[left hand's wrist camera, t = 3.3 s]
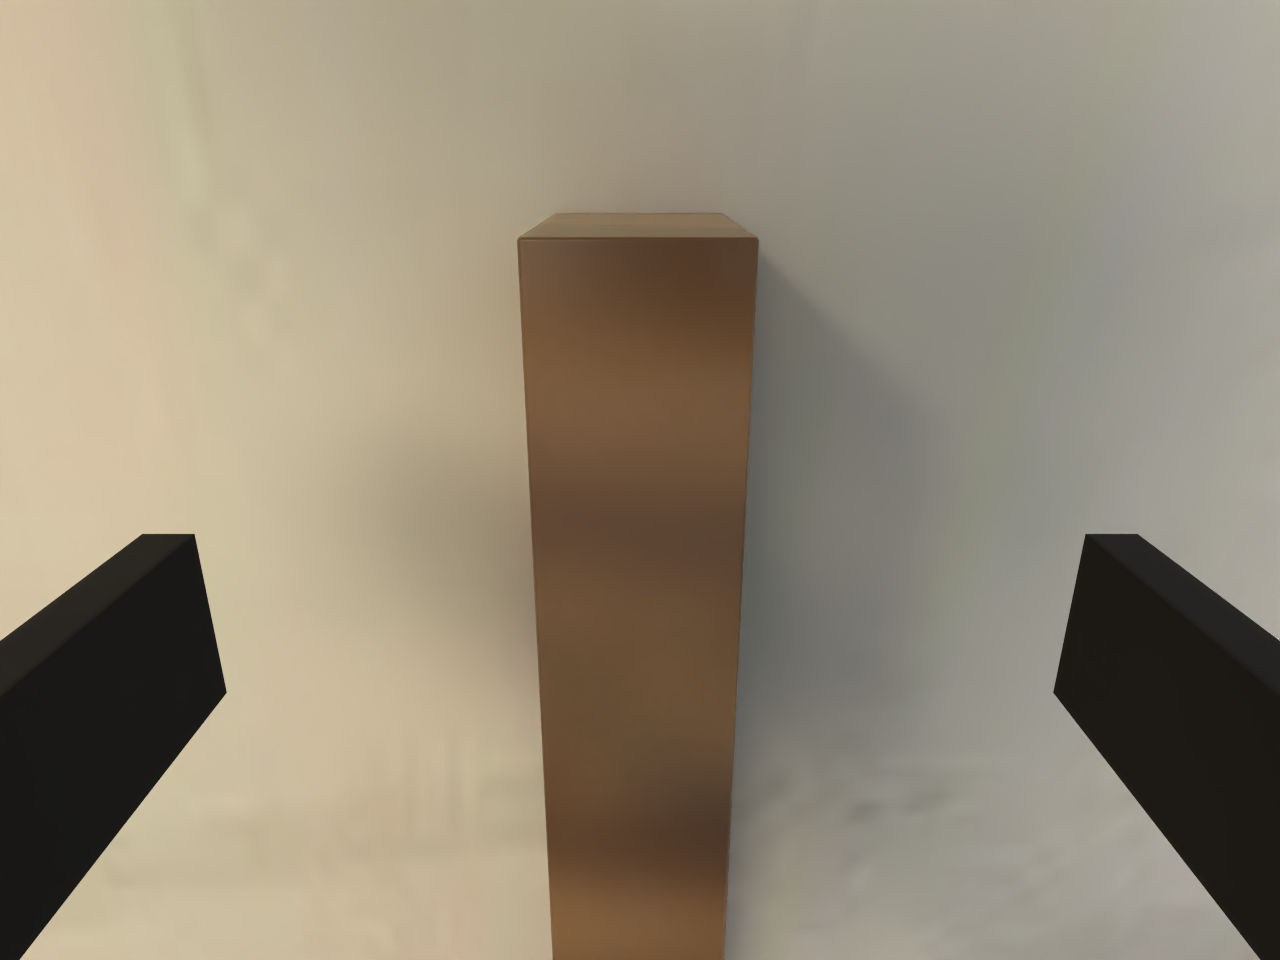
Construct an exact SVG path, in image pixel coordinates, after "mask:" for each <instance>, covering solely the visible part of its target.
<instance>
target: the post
mask: <svg viewBox="0 0 1280 960" xmlns="http://www.w3.org/2000/svg"><path fill="white" fill-rule="evenodd" d="M517 246H518V266H519V286H520V307H521V327H522V347H523V367H524V387H525V407H526V428H527V448H528V468H529V488H530V508H531V529H532V549H533V569H534V589H535V609H536V630H537V650H538V670H539V690H540V710H541V731H542V751H543V771H544V791H545V811H546V832H547V852H548V872H549V892H550V912H551V933H552V953H553V960H724V949H725V928H726V907H727V887H728V866H729V845H730V825H731V804H732V783H733V763H734V742H735V721H736V701H737V680H738V659H739V639H740V618H741V598H742V577H743V556H744V536H745V515H746V494H747V474H748V453H749V432H750V412H751V391H752V370H753V350H754V329H755V308H756V288H757V267H758V246H759V240H758V238H757V237H756V236H754V235H753V234H751V233H750V232H748V231H747V230H746V229H744V228H743V227H741V226H740V225H738V224H737V223H735V222H734V221H733V220H731V219H730V218H728V217H727V216H725V215H724V214H722V213H556V214H554V215H552V216H551V217H549V218H548V219H546V220H545V221H543V222H542V223H540V224H539V225H537V226H536V227H534V228H533V229H531V230H530V231H528V232H526V233H525V234H523V235H522V236H520V237H519V238H518V240H517Z"/></svg>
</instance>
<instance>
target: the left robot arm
mask: <svg viewBox="0 0 1280 960" xmlns="http://www.w3.org/2000/svg"><path fill="white" fill-rule="evenodd" d="M226 693H227V692H226V687H225V682H224V677H223V672H222V667H221V662H220V657H219V652H218V648H217V643H216V638H215V633H214V628H213V623H212V618H211V613H210V608H209V603H208V598H207V593H206V589H205V584H204V579H203V574H202V569H201V564H200V559H199V554H198V549H197V544H196V539H195V534H142V535H141V536H139V537H138V538H137V539H135V540H134V541H133V542H131V543H130V544H129V545H127V546H126V547H125V548H123V549H122V550H121V551H119V552H118V553H117V554H115V555H114V556H113V557H111V558H110V559H109V560H107V561H106V562H105V563H103V564H102V565H101V566H99V567H98V568H97V569H95V570H94V571H93V572H91V573H90V574H89V575H87V576H86V577H85V578H83V579H82V580H81V581H79V582H78V583H77V584H75V585H74V586H73V587H71V588H70V589H69V590H67V591H66V592H65V593H63V594H62V595H61V596H59V597H58V598H57V599H55V600H54V601H53V602H51V603H50V604H49V605H47V606H46V607H45V608H43V609H42V610H41V611H40V612H38V613H37V614H36V615H34V616H33V617H32V618H30V619H29V620H28V621H26V622H25V623H24V624H22V625H21V626H20V627H18V628H17V629H16V630H14V631H13V632H12V633H10V634H9V635H8V636H6V637H5V638H4V639H2V640H1V641H0V960H20V958H21V957H22V956H23V954H24V953H25V952H26V951H27V949H28V948H29V947H30V945H31V944H32V943H33V942H34V940H35V939H36V938H37V936H38V935H39V934H40V933H41V931H42V930H43V929H44V927H45V926H46V925H47V924H48V922H49V921H50V920H51V918H52V917H53V916H54V915H55V913H56V912H57V911H58V909H59V908H60V907H61V906H62V904H63V903H64V902H65V900H66V899H67V898H68V896H69V895H70V894H71V893H72V891H73V890H74V889H75V887H76V886H77V885H78V884H79V882H80V881H81V880H82V878H83V877H84V876H85V875H86V873H87V872H88V871H89V869H90V868H91V867H92V866H93V864H94V863H95V862H96V860H97V859H98V858H99V857H100V855H101V854H102V853H103V851H104V850H105V849H106V848H107V846H108V845H109V844H110V842H111V841H112V840H113V838H114V837H115V836H116V835H117V833H118V832H119V831H120V829H121V828H122V827H123V826H124V824H125V823H126V822H127V820H128V819H129V818H130V817H131V815H132V814H133V813H134V811H135V810H136V809H137V808H138V806H139V805H140V804H141V802H142V801H143V800H144V799H145V797H146V796H147V795H148V793H149V792H150V791H151V790H152V788H153V787H154V786H155V784H156V783H157V782H158V780H159V779H160V778H161V777H162V775H163V774H164V773H165V771H166V770H167V769H168V768H169V766H170V765H171V764H172V762H173V761H174V760H175V759H176V757H177V756H178V755H179V753H180V752H181V751H182V750H183V748H184V747H185V746H186V744H187V743H188V742H189V741H190V739H191V738H192V737H193V735H194V734H195V733H196V732H197V730H198V729H199V728H200V726H201V725H202V724H203V722H204V721H205V720H206V719H207V717H208V716H209V715H210V713H211V712H212V711H213V710H214V708H215V707H216V706H217V704H218V703H219V702H220V701H221V699H222V698H223V697H224V695H225V694H226ZM1053 693H1054V694H1055V695H1056V697H1057V698H1058V699H1059V701H1060V702H1061V703H1062V704H1063V706H1064V707H1065V708H1066V710H1067V711H1068V712H1069V713H1070V715H1071V716H1072V717H1073V719H1074V720H1075V721H1076V722H1077V724H1078V725H1079V726H1080V728H1081V729H1082V730H1083V732H1084V733H1085V734H1086V735H1087V737H1088V738H1089V739H1090V741H1091V742H1092V743H1093V744H1094V746H1095V747H1096V748H1097V750H1098V751H1099V752H1100V753H1101V755H1102V756H1103V757H1104V759H1105V760H1106V761H1107V762H1108V764H1109V765H1110V766H1111V768H1112V769H1113V770H1114V771H1115V773H1116V774H1117V775H1118V777H1119V778H1120V779H1121V780H1122V782H1123V783H1124V784H1125V786H1126V787H1127V788H1128V790H1129V791H1130V792H1131V793H1132V795H1133V796H1134V797H1135V799H1136V800H1137V801H1138V802H1139V804H1140V805H1141V806H1142V808H1143V809H1144V810H1145V811H1146V813H1147V814H1148V815H1149V817H1150V818H1151V819H1152V820H1153V822H1154V823H1155V824H1156V826H1157V827H1158V828H1159V829H1160V831H1161V832H1162V833H1163V835H1164V836H1165V837H1166V838H1167V840H1168V841H1169V842H1170V844H1171V845H1172V846H1173V848H1174V849H1175V850H1176V851H1177V853H1178V854H1179V855H1180V857H1181V858H1182V859H1183V860H1184V862H1185V863H1186V864H1187V866H1188V867H1189V868H1190V869H1191V871H1192V872H1193V873H1194V875H1195V876H1196V877H1197V878H1198V880H1199V881H1200V882H1201V884H1202V885H1203V886H1204V887H1205V889H1206V890H1207V891H1208V893H1209V894H1210V895H1211V896H1212V898H1213V899H1214V900H1215V902H1216V903H1217V904H1218V906H1219V907H1220V908H1221V909H1222V911H1223V912H1224V913H1225V915H1226V916H1227V917H1228V918H1229V920H1230V921H1231V922H1232V924H1233V925H1234V926H1235V927H1236V929H1237V930H1238V931H1239V933H1240V934H1241V935H1242V936H1243V938H1244V939H1245V940H1246V942H1247V943H1248V944H1249V945H1250V947H1251V948H1252V949H1253V951H1254V952H1255V953H1256V954H1257V956H1258V957H1259V958H1260V960H1280V641H1279V640H1278V639H1276V638H1275V637H1274V636H1272V635H1271V634H1270V633H1268V632H1267V631H1266V630H1264V629H1263V628H1262V627H1260V626H1259V625H1258V624H1256V623H1255V622H1254V621H1252V620H1251V619H1250V618H1248V617H1247V616H1246V615H1244V614H1243V613H1242V612H1240V611H1239V610H1238V609H1237V608H1235V607H1234V606H1233V605H1231V604H1230V603H1229V602H1227V601H1226V600H1225V599H1223V598H1222V597H1221V596H1219V595H1218V594H1217V593H1215V592H1214V591H1213V590H1211V589H1210V588H1209V587H1207V586H1206V585H1205V584H1203V583H1202V582H1201V581H1199V580H1198V579H1197V578H1195V577H1194V576H1193V575H1191V574H1190V573H1189V572H1187V571H1186V570H1185V569H1183V568H1182V567H1181V566H1179V565H1178V564H1177V563H1175V562H1174V561H1173V560H1171V559H1170V558H1169V557H1167V556H1166V555H1165V554H1163V553H1162V552H1161V551H1159V550H1158V549H1157V548H1155V547H1154V546H1153V545H1151V544H1150V543H1149V542H1147V541H1146V540H1145V539H1143V538H1142V537H1141V536H1139V535H1138V534H1085V539H1084V544H1083V549H1082V554H1081V559H1080V564H1079V569H1078V574H1077V579H1076V584H1075V589H1074V593H1073V598H1072V603H1071V608H1070V613H1069V618H1068V623H1067V628H1066V633H1065V638H1064V643H1063V648H1062V652H1061V657H1060V662H1059V667H1058V672H1057V677H1056V682H1055V687H1054V692H1053Z"/></svg>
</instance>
